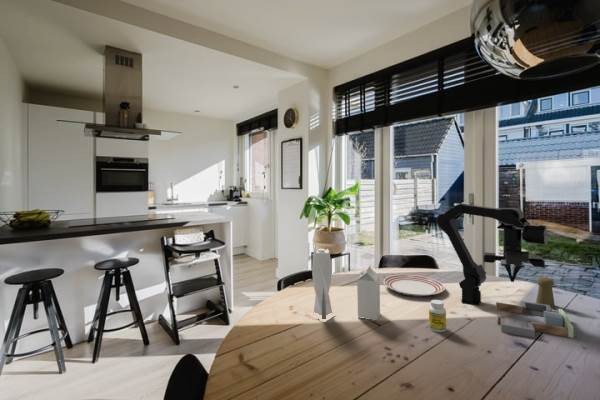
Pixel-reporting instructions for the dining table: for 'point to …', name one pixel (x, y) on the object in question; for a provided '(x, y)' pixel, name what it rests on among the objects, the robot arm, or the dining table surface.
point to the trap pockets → (528, 332)
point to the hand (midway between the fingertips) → (512, 281)
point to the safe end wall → (566, 323)
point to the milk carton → (368, 294)
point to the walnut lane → (537, 326)
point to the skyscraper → (322, 281)
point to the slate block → (553, 318)
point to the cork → (545, 292)
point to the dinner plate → (414, 285)
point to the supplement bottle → (437, 316)
